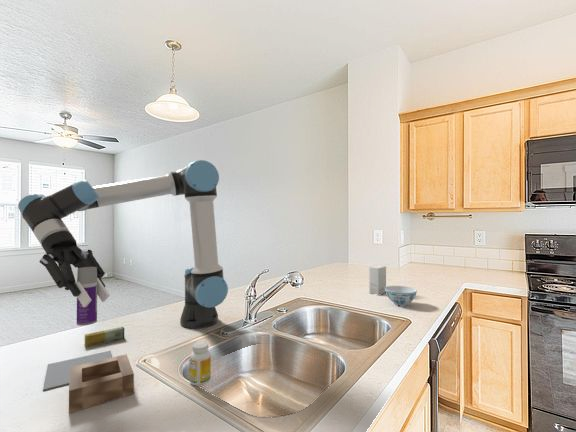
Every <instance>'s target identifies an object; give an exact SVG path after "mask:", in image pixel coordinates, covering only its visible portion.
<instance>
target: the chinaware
mask: <svg viewBox="0 0 576 432" xmlns="http://www.w3.org/2000/svg"><path fill="white" fill-rule="evenodd" d="M385 292H386V293H385V294H386V297H387V298H388V299H389V300H390V302H393V303H394V304H395V305H394V304H393V305H394V306H396V305H400V306H399V307H407V306H406V305H408V306H409V304H410V303H412V302H413V301H414V299H415V298H416V296H417V292H418V291H417V289H416V288H413V287H410V286H406V285H405V286H404V285H389V286H387V285H386V287H385Z"/></svg>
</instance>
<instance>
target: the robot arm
mask: <svg viewBox="0 0 576 432" xmlns="http://www.w3.org/2000/svg"><path fill="white" fill-rule="evenodd" d="M219 181H220V174H219V170H218V169H217V167H216V166H215V165H214V164H212V163H211V162H210V161H207V160H203V159H197V160H193V161H191V162H190V163H188V164H187V165H186V166H184V168H180V169H178V170H174V171H169V172H168V173H167V174H165V175H161V176H153V177H152V176H151V177H145V178H140V179H133V180H126V181H120V182H115V183H108V184H102V185H96V186H92V185H91V184H90V182H89V181H88V180H87V179H82V180H80V181H77V182H74V183H72V184H71V185H69V186H66V187H65V188H63V189H60V190H58V191H56V192H54V193H53V194H50V195H47V196H46V195H44V194H43V193H34V194H28V195H26V196H24V197H23V198H21V199H20V200H19V202H18V206H17V207H18V210H19V212H20V214H21V217H22V219H24V221H25V223H26V224H27V225H28V226H29V228H30V230H31V232H32V233H33V234H34V236H35V237H36V239H37V241H38V242H39V244H40V245H41V247H42V249H43V250H44V252H45V254H43V255H42V257H41V258H40V260H39V263H40V264H41V265H43V267H45V269H46V271H48V273H49V275H50V276H51V278H52V280H53V281H54V283H55V284H56V286H57V288H59V289H62V288H64V290H65V291H70V293H71V294H72V296H73V297H74V298H75V297H76V299H77V298H78V299H79V301H80V303H81V304H82V306H83V307H87V305H88V304H89V303H90V302H91V301H92V300H91V298H90V297H89V295H88V294H87V292H86V291H85V289H84V288H83V286H82V285H81V283H80V282H77V281H76V279H75V275H74V271H73V268H72V266H73V267H74V268H77V269H78V268H83V267H97V297H98V298H99V299H100V301H101V302H102V303H104V302H106V300H108V299H109V297H110V295H111V294H110V293H109V291H108V290H107V289H106V284H105V283H104V281H103V279H102V278H103V277H104V275H105V274H106V273H105V271H104V270H103V268H102V266H101V265H100V264H99V262H98V261H97V259H96V257H95V256H94V254H93V251H92V250H91V249H88V250H82V248H80V247H79V246H78V243H77V240H76V239H75V237H74V236H73V234H72V232H70V231H71V230H69V228H68V227H67V225H66V224H65V223H64V221H63V220H62V219H63V218H66V217H68V216H70V215H72V214H74V213H76V212H83V211H87V210H90V209H97V208H101V207H107V206H112V205H117V204H122V203H128V202H135V201H140V200H145V199H151V198H157V197H161V196H166V195H167V196H169V195H172V196H174V197H175V196H182V195H184V199H185V200H186V201H187V202H188V203H189V210H190V211H189V212H190V222H191V223H190V224H191V225H190V226H191V233H192V246H193V258H194V267H188V268H186V269H184V306H183V309H182V312H181V315H180V319H179V320H180V322H179V323H180V326H182V327H183V328H187V329H200V328H206V327H210V326H214V325H215V324H217V323H218V322H219V314H218V311H217V309H216V307H217V306H220V305H221V304H222V303H223V302H224V301H225V299H227V296H228V293H229V287H228V284H227V282H226V280H225V279H224V268H223V266H221V265H220V264H219V256H218V255H219V254H218V245H217V243H218V242H217V233H216V232H217V231H216V219H215V206H214V201H215V199H217V197H218V194H217V193H218V191H217V186H218V184H219Z"/></svg>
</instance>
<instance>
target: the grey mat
mask: <svg viewBox="0 0 576 432" xmlns="http://www.w3.org/2000/svg"><path fill="white" fill-rule="evenodd" d="M112 357H113V354H112V350H107V351H103V352H98V353H97V352H96V353H94V354H93V353H92V354H88V355H85V356H80V357H75V358H71V359H66V360H61V361H57V362H52V363H48V364H47V365H46V366H47V367H46V372H45V376H44V377H45V378H44V382H43V388H42V391H43V392H44V391H48V390H51V389H56V388H60V387H64V386H69V377H70V367H73V366H78V365H82V364H86V363H91V362H95V361H99V360H104V359H108V358H112Z"/></svg>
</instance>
